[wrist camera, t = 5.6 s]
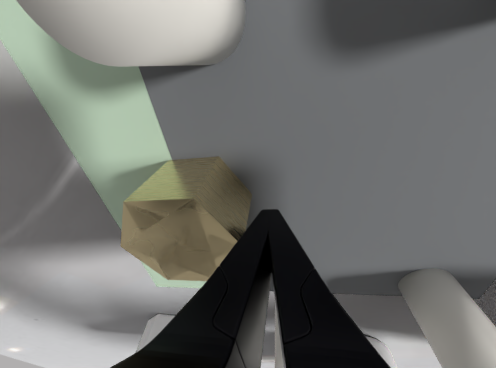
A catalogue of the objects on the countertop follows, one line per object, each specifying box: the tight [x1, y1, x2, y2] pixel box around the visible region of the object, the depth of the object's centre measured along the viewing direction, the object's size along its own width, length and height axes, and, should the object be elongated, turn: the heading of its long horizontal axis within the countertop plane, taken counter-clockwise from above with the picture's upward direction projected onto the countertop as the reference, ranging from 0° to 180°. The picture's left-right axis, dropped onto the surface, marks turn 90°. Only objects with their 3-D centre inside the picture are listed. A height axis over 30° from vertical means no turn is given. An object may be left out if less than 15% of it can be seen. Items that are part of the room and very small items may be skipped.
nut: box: [121, 156, 252, 281], centre depth 9 cm, size 5×5×4 cm
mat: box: [0, 0, 496, 299], centre depth 10 cm, size 20×23×1 cm
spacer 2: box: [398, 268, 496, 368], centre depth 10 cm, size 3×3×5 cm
